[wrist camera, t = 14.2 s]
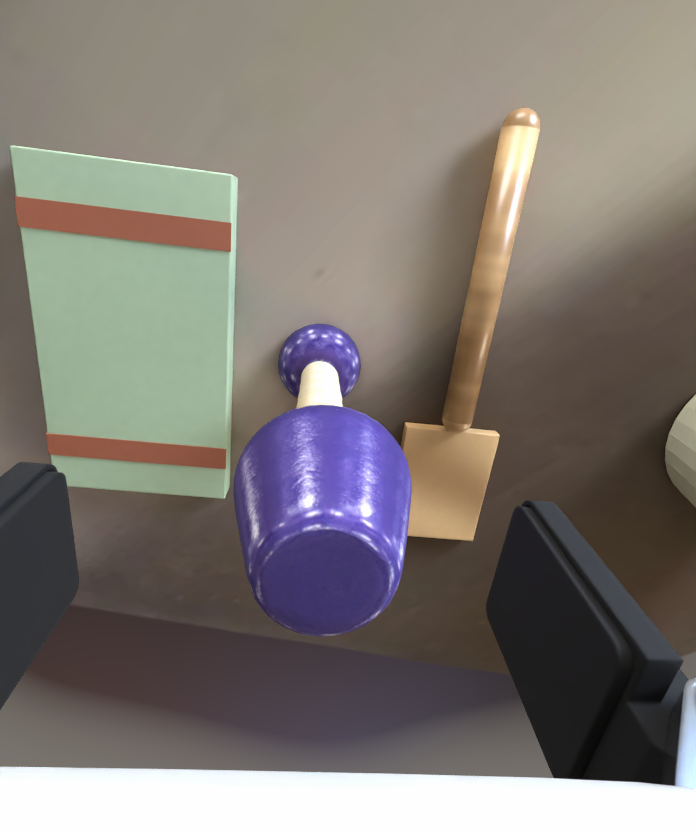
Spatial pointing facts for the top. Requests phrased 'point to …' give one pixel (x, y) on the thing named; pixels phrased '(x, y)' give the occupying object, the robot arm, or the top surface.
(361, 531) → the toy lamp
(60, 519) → the robot arm
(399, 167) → the top surface
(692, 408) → the reusable coffee cup
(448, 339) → the top surface
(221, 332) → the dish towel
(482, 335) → the wooden spatula
